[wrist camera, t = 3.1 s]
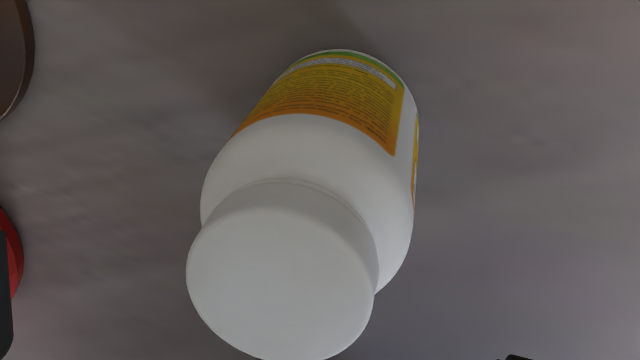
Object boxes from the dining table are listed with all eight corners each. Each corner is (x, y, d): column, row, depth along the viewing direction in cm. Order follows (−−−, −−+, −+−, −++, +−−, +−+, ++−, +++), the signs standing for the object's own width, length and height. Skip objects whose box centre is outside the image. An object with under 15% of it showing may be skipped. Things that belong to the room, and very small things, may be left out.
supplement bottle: (240, 85, 20) (100, 229, 12) (379, 17, 19) (332, 132, 10) (310, 209, 22) (233, 412, 14) (443, 159, 20) (451, 358, 12)
